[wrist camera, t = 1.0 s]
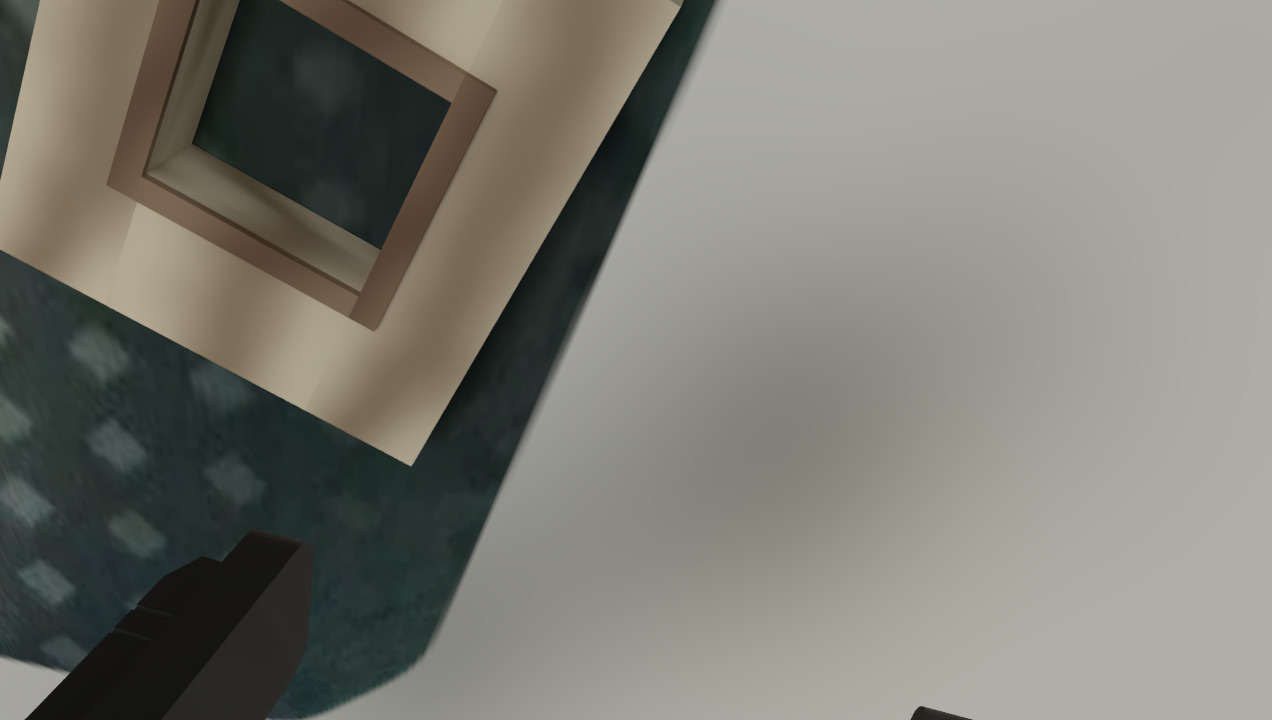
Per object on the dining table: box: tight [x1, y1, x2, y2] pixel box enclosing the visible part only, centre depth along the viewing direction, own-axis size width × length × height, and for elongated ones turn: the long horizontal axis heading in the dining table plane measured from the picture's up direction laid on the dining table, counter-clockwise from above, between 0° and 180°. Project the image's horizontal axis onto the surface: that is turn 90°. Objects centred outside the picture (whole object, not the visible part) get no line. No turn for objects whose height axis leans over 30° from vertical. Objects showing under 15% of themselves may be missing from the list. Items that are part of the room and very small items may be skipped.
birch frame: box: [0, 0, 684, 466], centre depth 33 cm, size 17×20×3 cm
